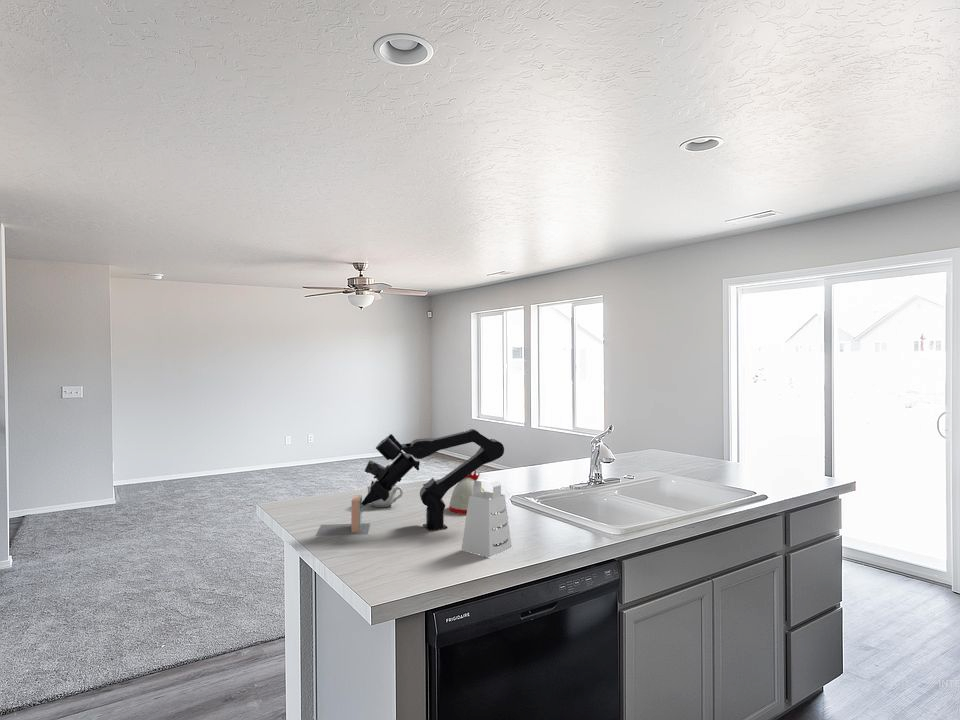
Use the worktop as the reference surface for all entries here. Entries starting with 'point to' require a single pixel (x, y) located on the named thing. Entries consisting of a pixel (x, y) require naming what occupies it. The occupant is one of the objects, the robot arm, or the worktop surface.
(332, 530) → the mat
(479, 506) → the grater
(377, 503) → the teacup
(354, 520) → the pink and teal block
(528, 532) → the worktop surface
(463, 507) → the kitchen timer
